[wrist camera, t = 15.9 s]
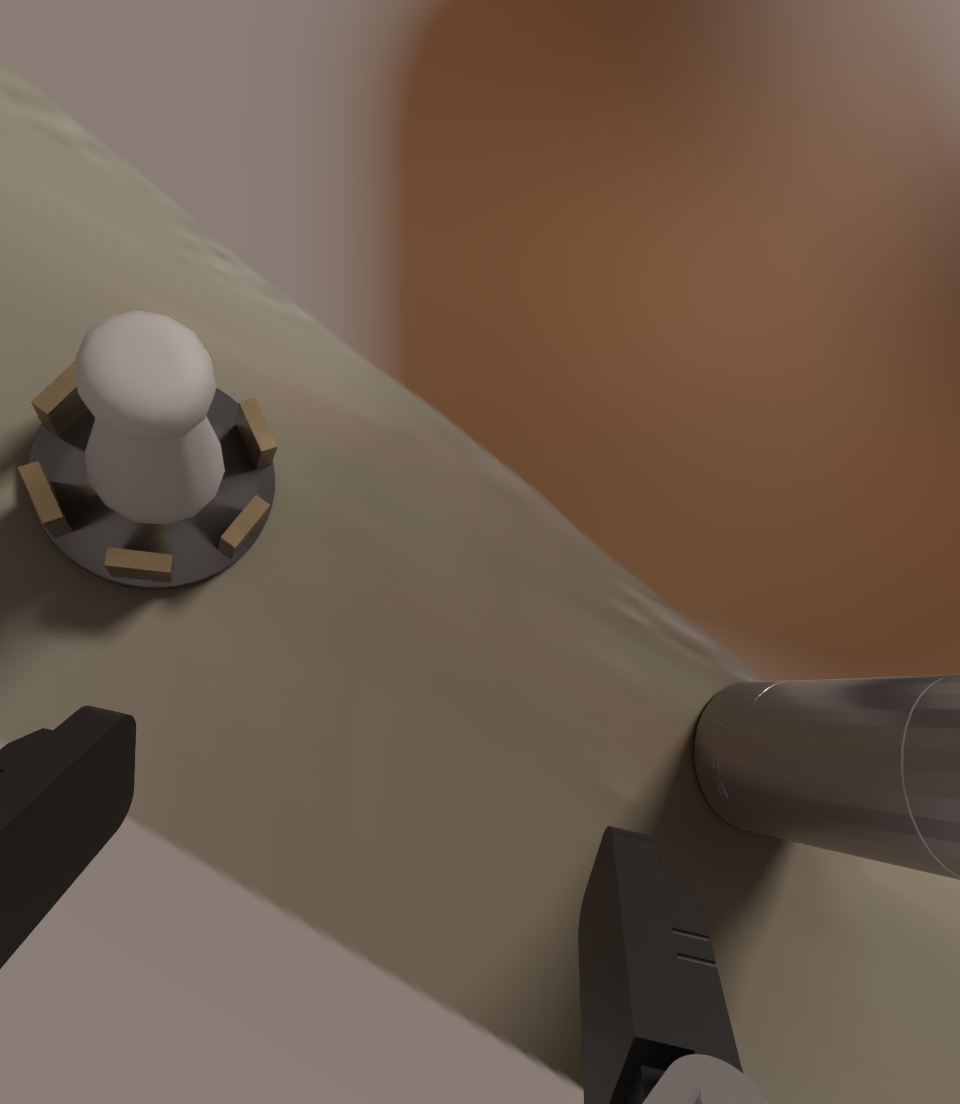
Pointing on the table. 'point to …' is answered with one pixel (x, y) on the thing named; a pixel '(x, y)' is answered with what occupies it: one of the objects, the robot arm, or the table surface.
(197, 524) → the disc with wooden blocks
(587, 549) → the table surface
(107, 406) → the salt shaker
